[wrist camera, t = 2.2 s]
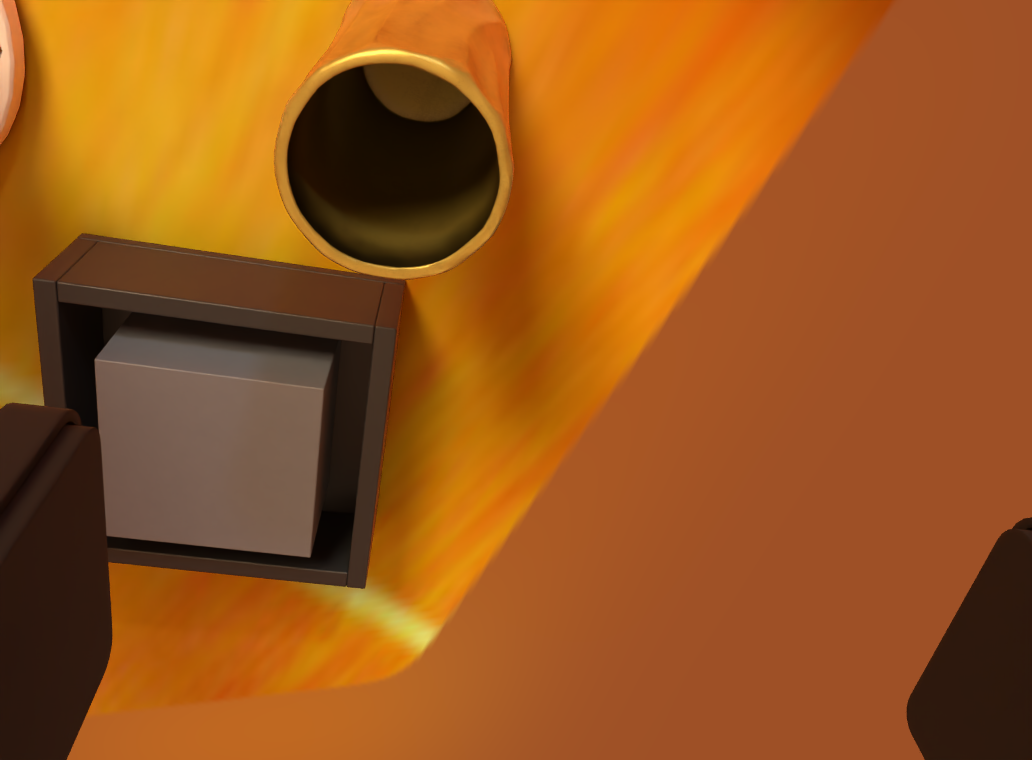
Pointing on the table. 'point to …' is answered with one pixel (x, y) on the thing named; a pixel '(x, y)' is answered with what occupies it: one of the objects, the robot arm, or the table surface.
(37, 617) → the robot arm
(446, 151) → the vase
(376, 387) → the crate
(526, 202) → the table surface
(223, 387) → the block
